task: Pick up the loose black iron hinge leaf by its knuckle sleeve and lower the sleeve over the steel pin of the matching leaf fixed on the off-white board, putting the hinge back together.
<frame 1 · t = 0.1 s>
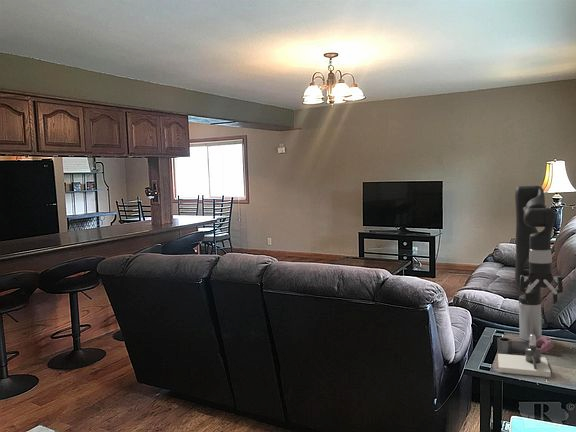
hand: (541, 302, 175), 29 cm above the table, tool pointing down, fingers open, 8 cm apart
upper leaf: (504, 352, 202), on the table
board: (522, 367, 187), on the table
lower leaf: (533, 360, 187), resting on board
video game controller: (543, 350, 204), on the table
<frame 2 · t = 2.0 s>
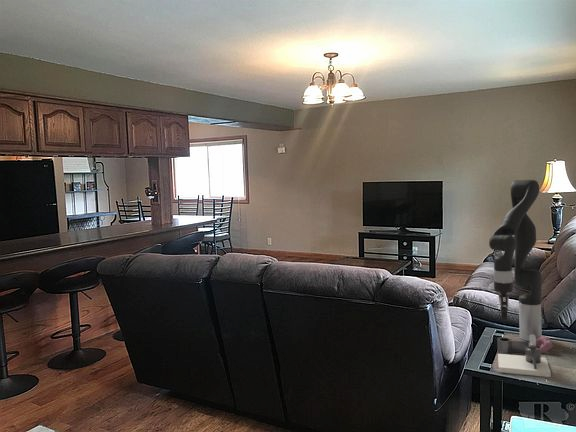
hand: (503, 316, 201), 16 cm above the table, tool pointing down, fingers open, 8 cm apart
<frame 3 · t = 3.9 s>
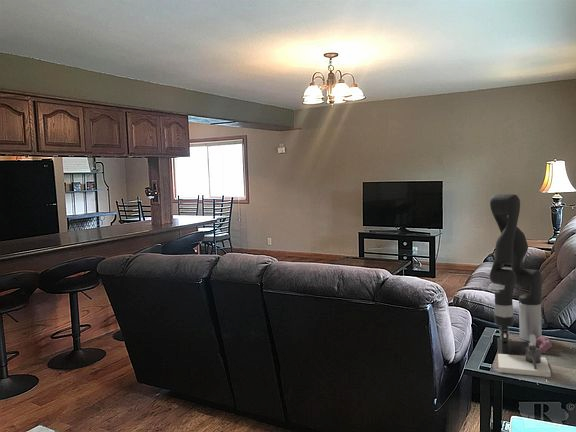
hand: (504, 351, 202), 1 cm above the table, tool pointing down, fingers closed on upper leaf, 5 cm apart
upper leaf: (504, 352, 202), on the table, touching gripper
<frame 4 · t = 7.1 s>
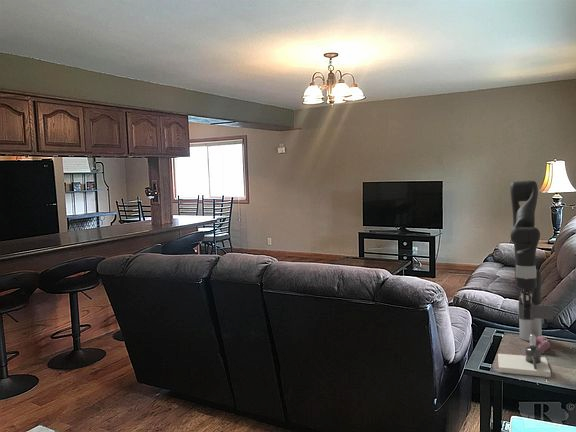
hand: (526, 316, 188), 20 cm above the table, tool pointing down, fingers closed on upper leaf, 5 cm apart
upper leaf: (526, 318, 188), point 19 cm above the table, touching gripper
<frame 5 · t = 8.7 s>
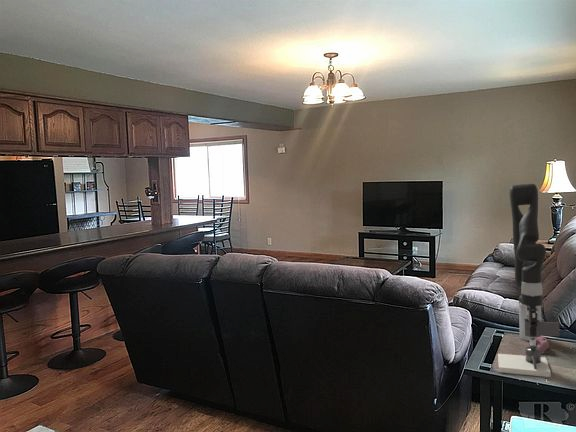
hand: (532, 333, 187), 14 cm above the table, tool pointing down, fingers closed on upper leaf, 5 cm apart
upper leaf: (532, 335, 187), point 13 cm above the table, touching gripper
when the fingers open (9 cm above the table, at t = 10.2 s): upper leaf stays where it is, resting on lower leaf.
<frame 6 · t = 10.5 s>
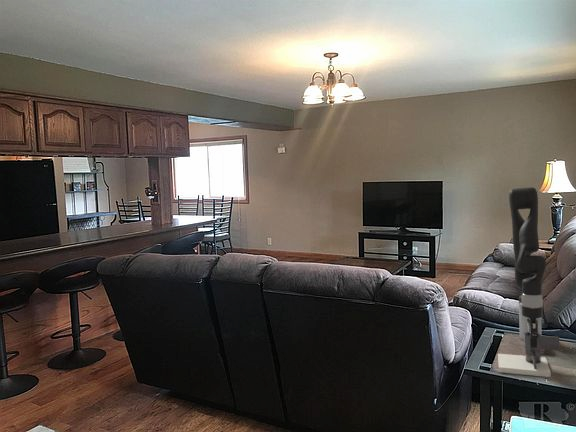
hand: (532, 343, 187), 9 cm above the table, tool pointing down, fingers open, 8 cm apart
upper leaf: (532, 348, 187), point 7 cm above the table, touching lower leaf
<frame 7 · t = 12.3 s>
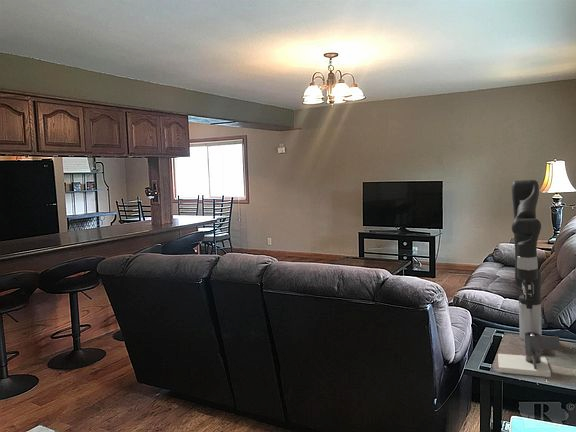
hand: (528, 305, 190), 24 cm above the table, tool pointing down, fingers open, 8 cm apart
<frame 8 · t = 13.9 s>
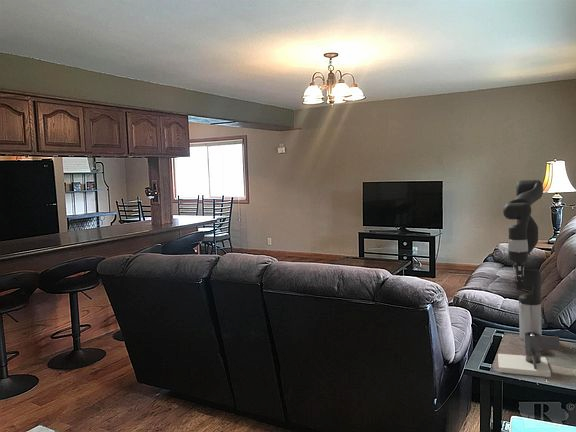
hand: (518, 287, 196), 30 cm above the table, tool pointing down, fingers open, 8 cm apart
at the end: upper leaf 0.1 cm off-centre on the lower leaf, point 5.0 cm above the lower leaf's base; upper leaf tilted 0°; the gripper is holding nothing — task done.
